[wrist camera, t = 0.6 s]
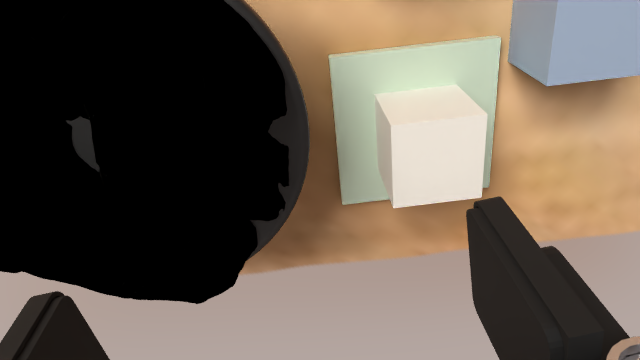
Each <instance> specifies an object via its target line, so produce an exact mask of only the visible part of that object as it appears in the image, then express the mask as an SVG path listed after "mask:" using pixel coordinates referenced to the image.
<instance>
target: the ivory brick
mask: <svg viewBox="0 0 640 360" xmlns="http://www.w3.org/2000/svg"><path fill="white" fill-rule="evenodd" d="M374 97H375V119H376V141H377V162H378V170H379V172H380V175H381V177H382V180H383V183H384V185H385V188H386V190H387V193H388V196H389V198H390V201H391V203H392V206H393V208H400V207H408V206H416V205H425V204H433V203H441V202H449V201H457V200H466V199H474V198H482V185H483V171H484V157H485V144H486V130H487V116H488V114H487V113H486V112H485V111H484V110H483V109H482V108H481V107H480V106H479V105H478V104H476V103H475V102H474V101H473V100H472V99H471V98H470V97H469V96H468V95H467V94H466V93H465V92H464V91H463V90H462V89H461V88H460V87H459V86H458V85H457V84H456V85H448V86H440V87H431V88H423V89H414V90H406V91H397V92H389V93H380V94H374Z"/></svg>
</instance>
